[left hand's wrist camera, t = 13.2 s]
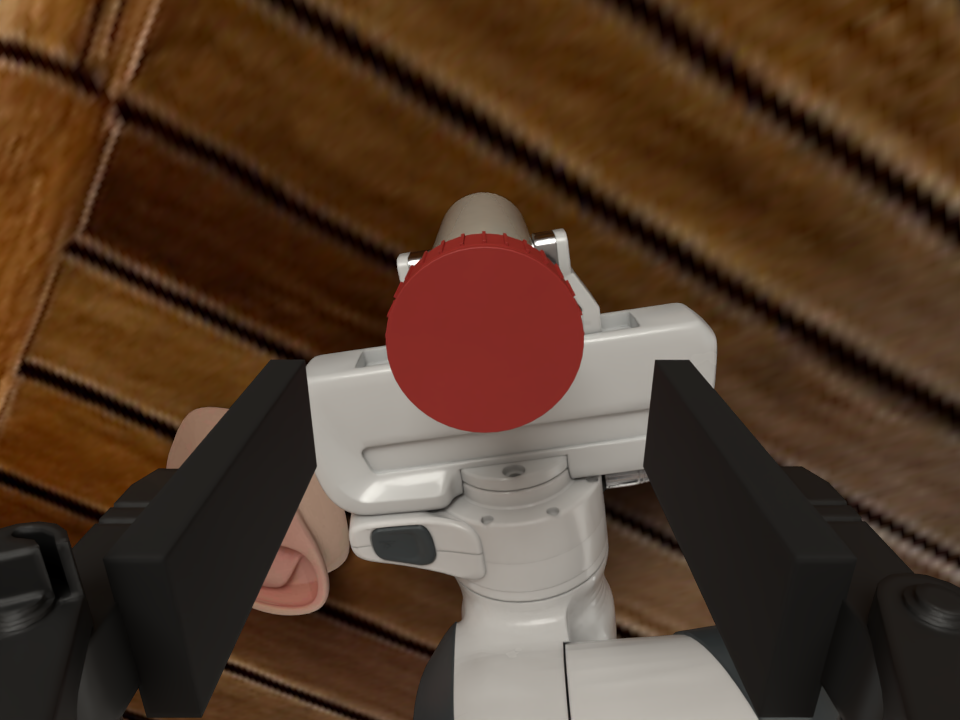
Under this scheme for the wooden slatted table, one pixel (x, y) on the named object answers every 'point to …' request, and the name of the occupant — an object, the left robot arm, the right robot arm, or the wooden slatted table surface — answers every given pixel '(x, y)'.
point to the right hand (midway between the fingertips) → (479, 243)
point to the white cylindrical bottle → (483, 218)
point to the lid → (484, 333)
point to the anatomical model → (307, 544)
